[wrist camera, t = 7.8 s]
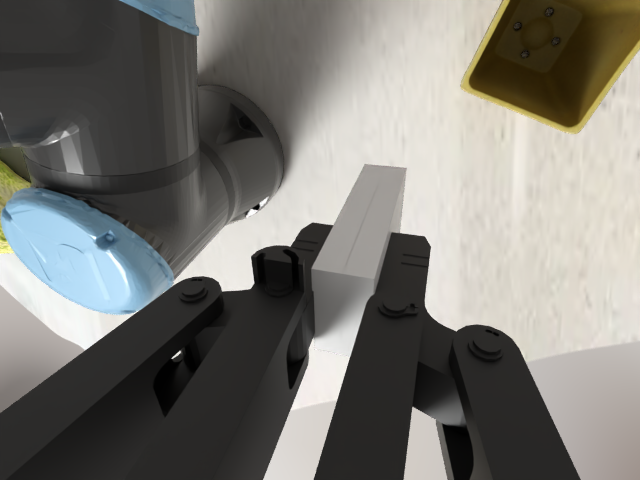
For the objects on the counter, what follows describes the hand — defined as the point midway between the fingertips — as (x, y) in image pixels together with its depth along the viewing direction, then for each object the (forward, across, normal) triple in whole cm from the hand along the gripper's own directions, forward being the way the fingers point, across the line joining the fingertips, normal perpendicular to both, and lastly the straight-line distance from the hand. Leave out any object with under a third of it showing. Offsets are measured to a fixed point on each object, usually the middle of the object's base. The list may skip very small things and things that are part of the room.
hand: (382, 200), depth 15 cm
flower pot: (+27, +8, +3) cm, 28 cm away
